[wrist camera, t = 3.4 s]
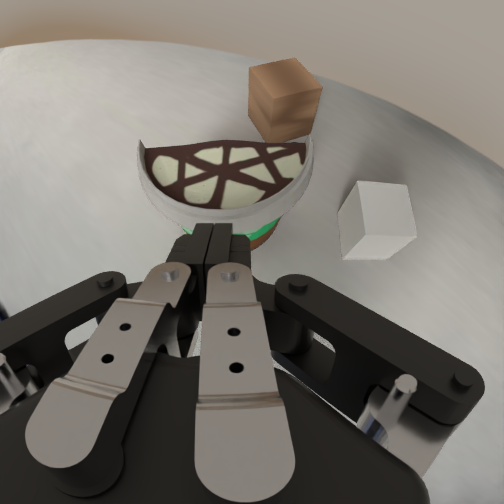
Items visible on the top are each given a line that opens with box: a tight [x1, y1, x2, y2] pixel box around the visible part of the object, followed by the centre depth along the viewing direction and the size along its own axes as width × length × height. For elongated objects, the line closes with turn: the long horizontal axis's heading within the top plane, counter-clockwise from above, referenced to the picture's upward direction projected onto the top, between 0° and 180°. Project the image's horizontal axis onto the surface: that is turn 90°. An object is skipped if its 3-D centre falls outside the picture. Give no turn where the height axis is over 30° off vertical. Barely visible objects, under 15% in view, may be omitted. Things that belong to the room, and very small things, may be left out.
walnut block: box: [248, 58, 323, 143], centre depth 28 cm, size 5×5×7 cm
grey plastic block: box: [337, 180, 417, 260], centre depth 25 cm, size 4×4×6 cm
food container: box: [137, 134, 313, 250], centre depth 22 cm, size 12×6×10 cm, turn 92°
